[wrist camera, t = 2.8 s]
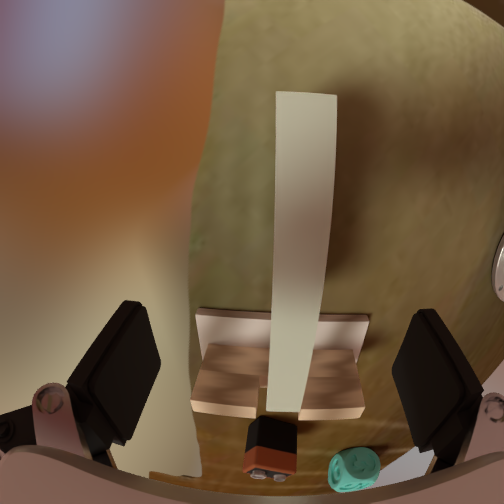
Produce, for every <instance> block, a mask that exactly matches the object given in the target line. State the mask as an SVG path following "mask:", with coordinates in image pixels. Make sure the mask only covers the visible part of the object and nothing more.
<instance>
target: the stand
mask: <svg viewBox="0 0 504 504" xmlns="http://www.w3.org/2000/svg"><path fill="white" fill-rule="evenodd" d="M195 315H196V322H197V328H198V335H199V341H200V347H201V353H202V359H203V362H202V365H201V368H200V371H199V374H198V377H197V380H196V383H195V386H194V389H193V392H192V395H191V399H190V401H191V405H192V408H193V411H197V412H203V413H210V414H217V415H225V416H234V417H245V418H256V411H257V403H258V394H259V387H265V388H268V372H269V354H270V334H271V313H265V312H247V311H231V310H218V309H205V308H198V310H197V312H196V314H195ZM368 325H369V319H368V317H367V315H324V314H319V319H318V325H317V331H316V336H315V342H314V347H313V353H312V358H311V363H310V368H309V373H308V378H307V382H306V387H305V392H304V396H303V401H302V405H301V409H300V412H298V420H335V419H352V418H360V416H361V414H362V412H363V410H364V408H365V403H364V398H363V394H362V389H361V384H360V379H359V375H358V370H357V366H356V362H357V360H358V357H359V354H360V351H361V347H362V344H363V341H364V338H365V335H366V331H367V328H368Z"/></svg>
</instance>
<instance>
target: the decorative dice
mask: <svg viewBox="0 0 504 504" xmlns="http://www.w3.org/2000/svg"><path fill="white" fill-rule="evenodd" d="M379 472H380V460H379V457H378V456H377V454H376V453H375V452H374V451H372V450H371V449H369V448H366V447H356V448H350V449H347V450H343V451H341V452H339V453H337V454H336V455H335V456H334V457H333V458H332V460H331V462H330V465H329V470H328V481H329V484H330V486H331V487H332V488H333V489H334V490H336V491H338V492H350V491H356V490H360V489H364V488H367V487H369V486H371V485H372V484H374V482H375V481H376V480H377V478H378V476H379Z"/></svg>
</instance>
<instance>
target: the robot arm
mask: <svg viewBox="0 0 504 504" xmlns="http://www.w3.org/2000/svg"><path fill="white" fill-rule="evenodd" d="M492 286H493V290H494V292H495V294H496V295H497V296H498V297H499V298H500V299H501V300H502V301H504V235H503V237H502V239H501V241H500V244H499V246H498V249H497V252H496V255H495V258H494V263H493V268H492ZM160 366H161V360H160V357H159V353H158V350H157V346H156V343H155V340H154V336H153V332H152V329H151V325H150V321H149V317H148V314H147V310H146V308H145V307H144V306H142V304H141V303H140V302H136V301H127V300H125V301H124V302H122V304H121V305H120V306H119V308H118V309H117V310H116V312H115V313H114V314H113V316H112V317H111V318H110V320H109V321H108V323H107V324H106V325H105V327H104V328H103V330H102V331H101V332H100V334H99V335H98V336H97V338H96V339H95V341H94V342H93V343H92V345H91V346H90V348H89V349H88V351H87V352H86V354H85V355H84V357H83V358H82V359H81V361H80V363H79V364H78V365H77V367H76V368H75V370H74V371H73V373H72V374H71V376H70V377H69V379H68V381H67V383H68V384H67V385H66V387H64V386H63V385H61V384H59V383H48V384H46V385H43V386H42V387H40V388H39V389H38V390H37V391H36V393H35V394H34V397H33V400H32V405H30V406H27V407H24V408H21V409H18V410H15V411H12V412H9V413H5V414H2V415H0V504H504V396H502V395H501V394H499V393H489V394H487V395H485V396H484V397H482V395H481V394H482V392H483V391H484V389H483V387H482V386H481V384H480V382H479V380H478V378H477V376H476V375H475V373H474V371H473V369H472V368H471V366H470V364H469V362H468V361H467V359H466V357H465V356H464V354H463V352H462V351H461V349H460V347H459V346H458V344H457V342H456V341H455V339H454V338H453V336H452V335H451V333H450V332H449V330H448V328H447V327H446V325H445V324H444V322H443V321H442V319H441V318H440V316H439V315H438V314H437V312H436V311H435V310H434V309H420V310H418V311H417V313H416V314H414V315H413V317H412V320H411V322H410V325H409V328H408V330H407V333H406V335H405V338H404V340H403V343H402V345H401V348H400V350H399V352H398V355H397V357H396V359H395V361H394V364H393V366H392V376H393V378H394V381H395V384H396V387H397V390H398V393H399V396H400V399H401V402H402V405H403V408H404V411H405V415H406V418H407V421H408V425H409V428H410V431H411V435H412V438H413V442H414V445H415V446H416V447H418V448H419V452H420V453H422V452H426V451H429V450H432V449H433V450H434V457H433V459H432V461H431V463H430V465H429V467H428V469H427V471H426V473H425V475H424V476H421V477H417V478H414V479H410V480H407V481H403V482H399V483H395V484H391V485H386V486H381V487H376V488H372V489H366V490H359V491H352V492H345V493H337V494H327V495H314V496H283V497H281V496H250V495H237V494H227V493H219V492H211V491H204V490H198V489H192V488H187V487H182V486H177V485H172V484H168V483H164V482H160V481H156V480H152V479H148V478H145V477H141V476H137V475H134V474H131V473H127V472H124V471H121V470H118V469H117V466H116V464H115V461H114V459H113V457H112V454H111V452H110V446H111V444H112V443H115V444H118V445H122V446H125V443H126V441H127V440H130V439H131V438H132V436H133V433H134V431H135V428H136V426H137V423H138V421H139V418H140V416H141V413H142V410H143V408H144V406H145V403H146V401H147V398H148V396H149V394H150V391H151V389H152V386H153V384H154V382H155V379H156V377H157V375H158V372H159V370H160Z"/></svg>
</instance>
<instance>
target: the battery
mask: <svg viewBox="0 0 504 504" xmlns="http://www.w3.org/2000/svg"><path fill="white" fill-rule="evenodd" d="M296 462H297V426H295V425H292V424H288V423H284V422H281V421H277V420H274V419H270V418H267V417H263V416H260V417H259V418H257V419H256V420H255V421H254V422H253V423H252V424H251V425H249V428H248V435H247V442H246V449H245V456H244V463H243V472H244V473H248V474H251V477H253V478H255V479H264V478H266V477H267V478H273V479H274V480H275V481H285V478H286V477H289V476H291V475H293V474H295V473H296Z"/></svg>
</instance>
